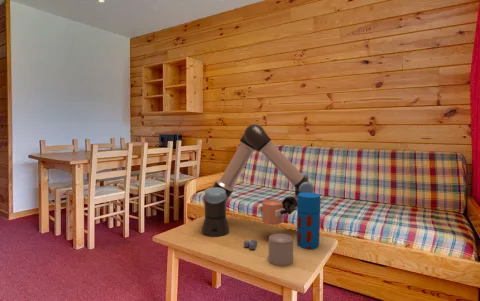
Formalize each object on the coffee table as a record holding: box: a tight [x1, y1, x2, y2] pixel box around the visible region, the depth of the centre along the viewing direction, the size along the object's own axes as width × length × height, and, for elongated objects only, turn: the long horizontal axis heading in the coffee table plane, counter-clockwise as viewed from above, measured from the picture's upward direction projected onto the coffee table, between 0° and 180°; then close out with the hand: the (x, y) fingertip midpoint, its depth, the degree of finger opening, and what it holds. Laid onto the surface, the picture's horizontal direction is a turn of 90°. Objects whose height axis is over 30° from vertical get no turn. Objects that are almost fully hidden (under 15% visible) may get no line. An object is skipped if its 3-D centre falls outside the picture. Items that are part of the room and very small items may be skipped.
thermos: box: [296, 192, 321, 250], centre depth 143 cm, size 11×11×25 cm
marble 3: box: [248, 241, 257, 250], centre depth 138 cm, size 3×3×3 cm
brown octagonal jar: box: [267, 233, 294, 267], centre depth 127 cm, size 10×10×10 cm
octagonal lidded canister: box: [261, 199, 284, 225], centre depth 151 cm, size 10×10×10 cm
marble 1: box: [243, 240, 251, 248], centre depth 141 cm, size 3×3×3 cm
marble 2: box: [250, 239, 258, 246], centre depth 142 cm, size 3×3×3 cm
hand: (267, 211), depth 148 cm, fingers closed on octagonal lidded canister, 10 cm apart
